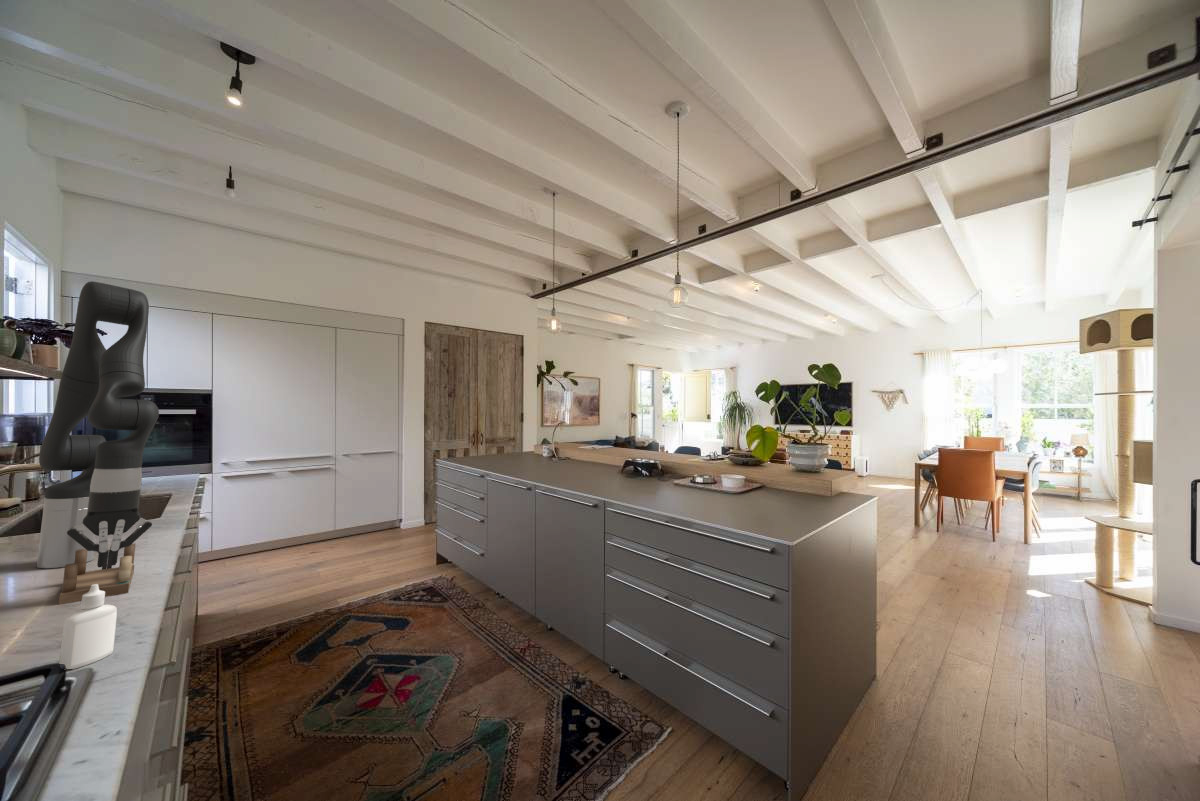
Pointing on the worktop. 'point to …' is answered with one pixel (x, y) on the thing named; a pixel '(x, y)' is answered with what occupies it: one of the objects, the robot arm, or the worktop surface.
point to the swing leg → (125, 568)
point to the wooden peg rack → (92, 578)
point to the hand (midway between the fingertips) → (106, 568)
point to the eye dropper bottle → (89, 631)
